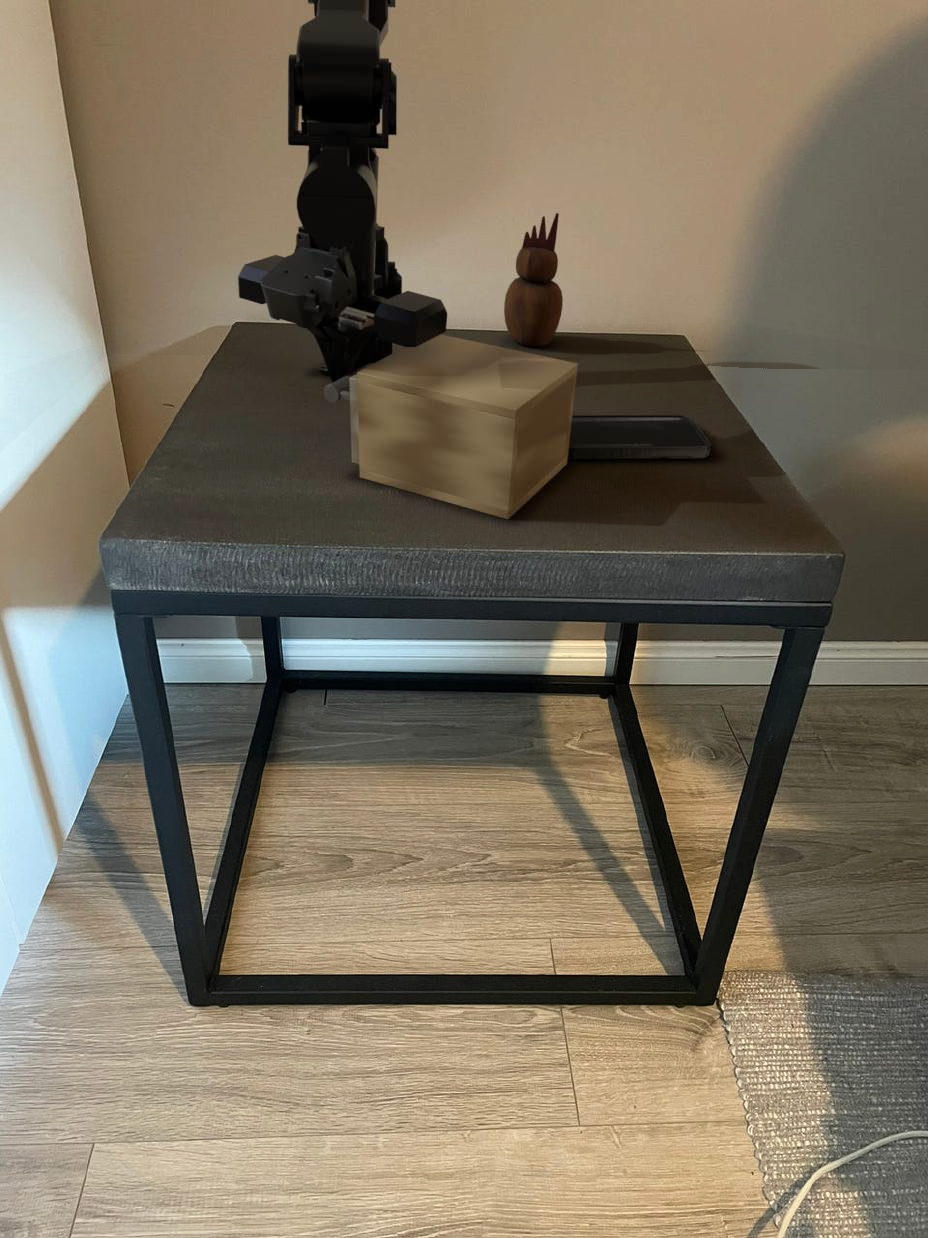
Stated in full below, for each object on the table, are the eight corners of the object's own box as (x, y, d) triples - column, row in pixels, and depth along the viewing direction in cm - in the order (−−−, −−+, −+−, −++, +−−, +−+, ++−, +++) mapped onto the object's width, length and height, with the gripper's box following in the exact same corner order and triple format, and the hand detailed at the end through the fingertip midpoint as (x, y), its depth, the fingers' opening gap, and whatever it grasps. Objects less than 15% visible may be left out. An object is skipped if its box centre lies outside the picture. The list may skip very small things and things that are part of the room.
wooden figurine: (565, 342, 117) (579, 212, 108) (543, 354, 113) (555, 220, 104) (518, 330, 120) (527, 203, 111) (494, 342, 115) (502, 211, 107)
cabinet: (359, 477, 84) (356, 372, 78) (429, 429, 93) (431, 332, 88) (508, 519, 78) (516, 409, 73) (566, 464, 88) (578, 363, 82)
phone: (543, 415, 94) (690, 414, 96) (542, 425, 95) (688, 425, 96) (558, 448, 88) (714, 447, 89) (556, 459, 88) (712, 458, 90)
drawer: (311, 451, 86) (307, 367, 81) (378, 410, 94) (378, 332, 90) (487, 500, 79) (492, 412, 75) (542, 451, 88) (550, 369, 83)
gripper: (188, 207, 76) (202, 390, 85) (384, 258, 70) (375, 450, 79) (275, 187, 85) (279, 356, 94) (457, 231, 78) (442, 408, 87)
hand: (339, 391), depth 88 cm, fingers closed
